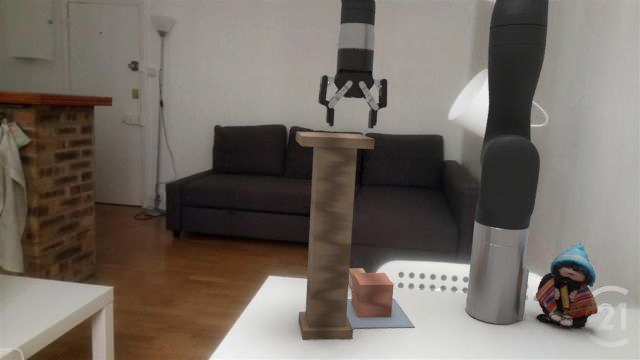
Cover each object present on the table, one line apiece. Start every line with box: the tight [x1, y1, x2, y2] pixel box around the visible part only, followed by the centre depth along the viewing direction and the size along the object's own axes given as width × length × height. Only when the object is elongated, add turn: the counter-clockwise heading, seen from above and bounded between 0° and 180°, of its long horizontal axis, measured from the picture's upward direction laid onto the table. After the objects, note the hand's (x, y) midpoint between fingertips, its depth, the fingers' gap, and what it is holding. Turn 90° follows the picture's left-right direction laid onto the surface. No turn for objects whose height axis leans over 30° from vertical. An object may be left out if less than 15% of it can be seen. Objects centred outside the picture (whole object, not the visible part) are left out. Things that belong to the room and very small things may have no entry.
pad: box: [347, 297, 416, 330], centre depth 89 cm, size 11×12×1 cm
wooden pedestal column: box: [295, 131, 375, 341], centre depth 81 cm, size 11×10×32 cm
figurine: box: [535, 243, 599, 330], centre depth 87 cm, size 10×7×15 cm
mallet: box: [348, 267, 394, 318], centre depth 95 cm, size 6×17×6 cm, turn 8°
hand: (351, 127), depth 104 cm, fingers open, 8 cm apart
